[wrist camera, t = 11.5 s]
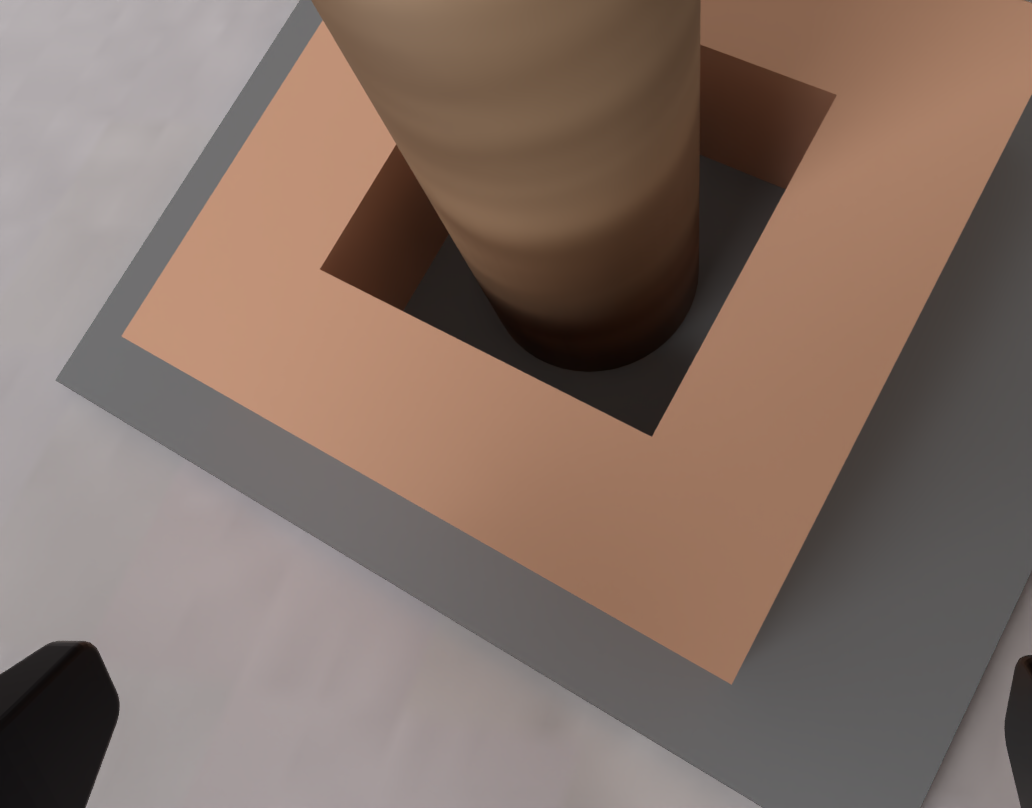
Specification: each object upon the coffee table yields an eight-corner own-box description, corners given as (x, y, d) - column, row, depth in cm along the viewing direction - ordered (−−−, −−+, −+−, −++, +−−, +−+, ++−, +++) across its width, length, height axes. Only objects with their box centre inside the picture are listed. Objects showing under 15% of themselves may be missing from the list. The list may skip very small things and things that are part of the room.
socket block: (999, 138, 17) (1072, 16, 14) (724, 677, 16) (731, 684, 13) (492, -47, 20) (452, -184, 17) (222, 392, 19) (121, 336, 16)
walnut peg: (743, 288, 18) (829, -393, 6) (567, 413, 18) (326, -32, 6) (616, 139, 19) (492, -658, 7) (453, 256, 19) (73, -356, 7)
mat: (1222, 151, 17) (1234, 139, 17) (881, 876, 15) (885, 881, 15) (399, -133, 22) (394, -147, 22) (67, 385, 20) (55, 380, 20)
